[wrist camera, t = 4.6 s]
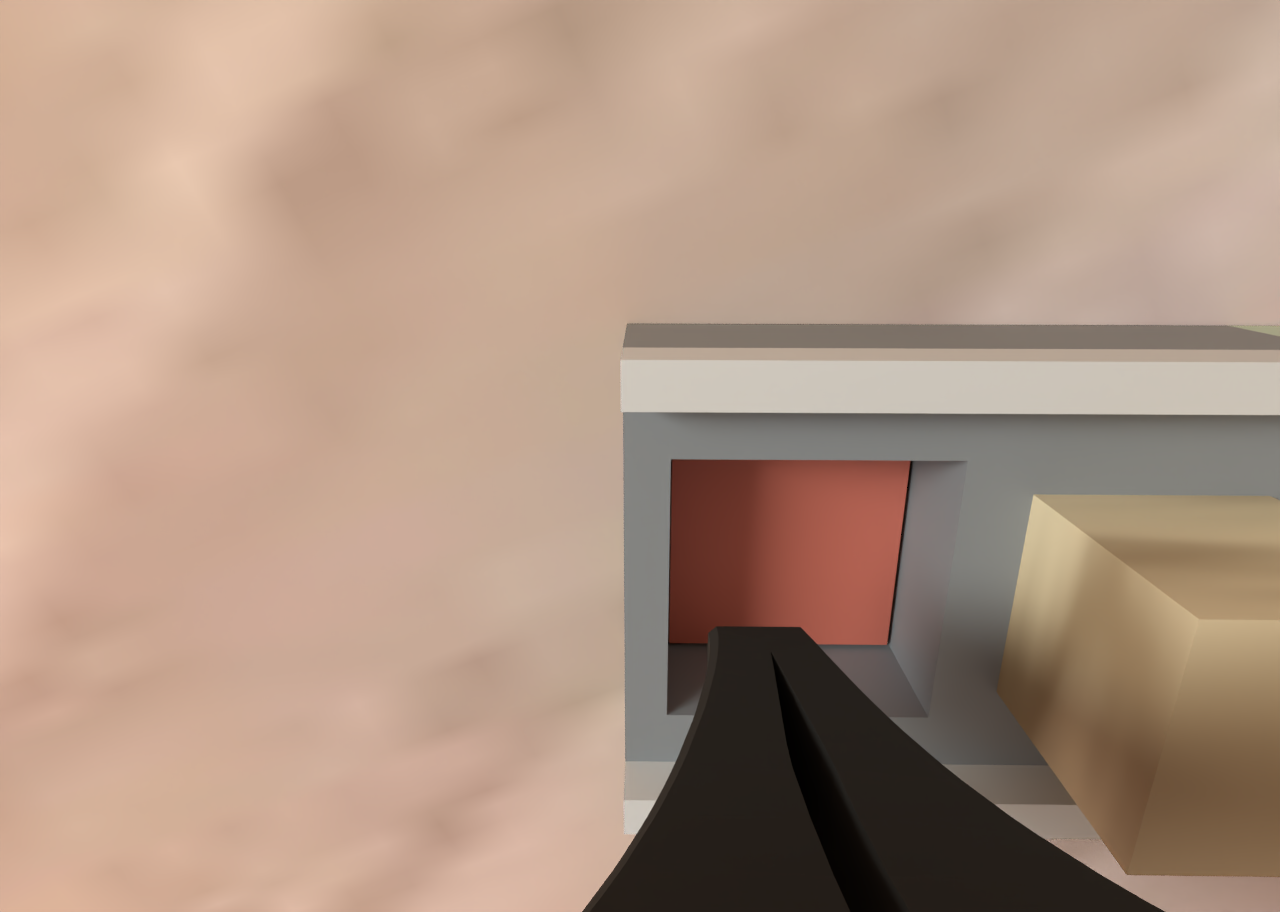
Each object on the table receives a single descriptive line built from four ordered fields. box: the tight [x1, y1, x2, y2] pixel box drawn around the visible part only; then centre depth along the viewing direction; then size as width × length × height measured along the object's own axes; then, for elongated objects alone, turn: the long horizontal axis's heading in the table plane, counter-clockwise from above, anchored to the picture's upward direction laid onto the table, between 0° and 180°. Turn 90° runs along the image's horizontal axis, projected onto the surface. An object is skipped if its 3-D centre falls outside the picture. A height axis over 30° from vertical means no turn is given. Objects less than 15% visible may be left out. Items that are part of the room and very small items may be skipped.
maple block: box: [996, 494, 1280, 877], centre depth 11 cm, size 4×4×4 cm
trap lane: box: [621, 324, 1280, 839], centre depth 14 cm, size 9×24×4 cm, turn 90°
